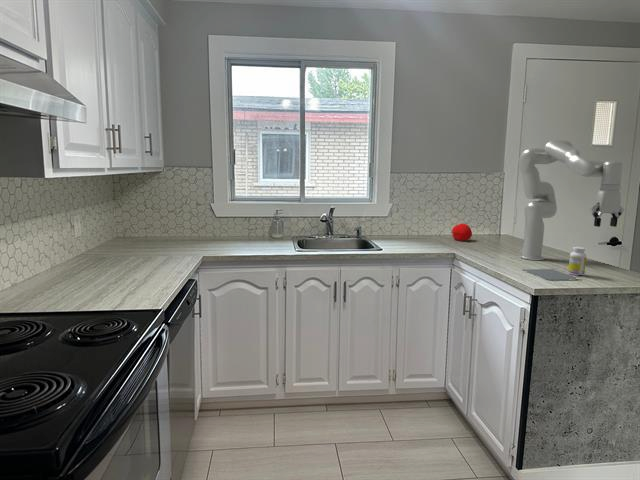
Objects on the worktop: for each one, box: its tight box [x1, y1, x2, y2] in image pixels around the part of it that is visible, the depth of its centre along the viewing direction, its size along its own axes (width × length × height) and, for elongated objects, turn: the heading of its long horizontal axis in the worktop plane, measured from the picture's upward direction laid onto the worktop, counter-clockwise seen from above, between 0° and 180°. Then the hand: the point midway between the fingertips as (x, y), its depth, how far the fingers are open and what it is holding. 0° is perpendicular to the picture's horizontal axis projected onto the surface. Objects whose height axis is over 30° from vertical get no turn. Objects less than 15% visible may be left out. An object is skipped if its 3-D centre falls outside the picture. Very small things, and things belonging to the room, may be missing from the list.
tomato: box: [451, 223, 473, 242], centre depth 299 cm, size 13×13×13 cm
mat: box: [522, 268, 578, 281], centre depth 205 cm, size 20×16×1 cm
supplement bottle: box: [567, 246, 587, 276], centre depth 206 cm, size 7×7×13 cm
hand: (605, 226), depth 205 cm, fingers open, 7 cm apart
